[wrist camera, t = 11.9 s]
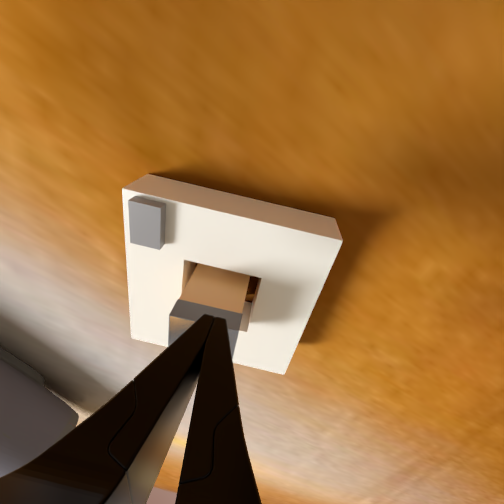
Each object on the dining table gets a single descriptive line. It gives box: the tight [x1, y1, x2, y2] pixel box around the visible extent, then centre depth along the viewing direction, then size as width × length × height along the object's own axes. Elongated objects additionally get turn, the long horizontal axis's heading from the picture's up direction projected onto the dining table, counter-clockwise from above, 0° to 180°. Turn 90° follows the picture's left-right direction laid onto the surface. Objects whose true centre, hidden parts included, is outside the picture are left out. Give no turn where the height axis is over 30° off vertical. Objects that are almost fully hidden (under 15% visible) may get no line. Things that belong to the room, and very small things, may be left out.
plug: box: [168, 263, 250, 359], centre depth 20 cm, size 4×4×8 cm
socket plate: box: [122, 174, 343, 375], centre depth 21 cm, size 14×14×4 cm
